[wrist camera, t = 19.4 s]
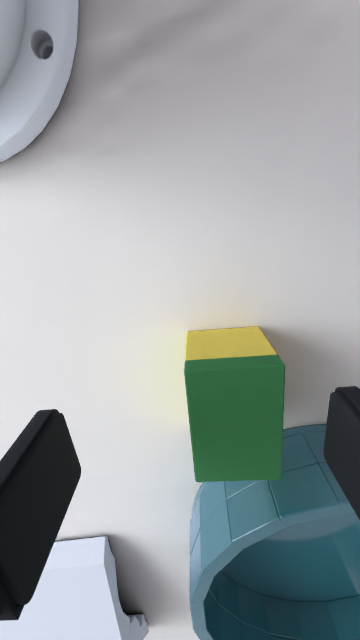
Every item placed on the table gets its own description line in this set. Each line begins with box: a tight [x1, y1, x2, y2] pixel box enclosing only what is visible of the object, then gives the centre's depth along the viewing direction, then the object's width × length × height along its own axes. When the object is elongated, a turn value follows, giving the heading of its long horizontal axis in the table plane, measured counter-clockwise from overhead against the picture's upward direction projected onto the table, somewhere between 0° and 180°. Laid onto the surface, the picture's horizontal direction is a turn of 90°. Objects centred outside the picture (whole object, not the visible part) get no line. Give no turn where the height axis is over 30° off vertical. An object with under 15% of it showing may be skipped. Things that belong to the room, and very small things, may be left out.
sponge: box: [184, 326, 285, 482], centre depth 14 cm, size 6×4×4 cm, turn 5°
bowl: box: [189, 425, 360, 640], centre depth 17 cm, size 18×18×5 cm
